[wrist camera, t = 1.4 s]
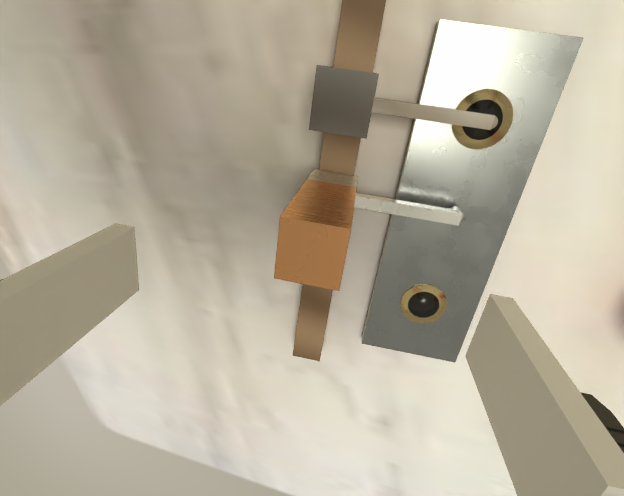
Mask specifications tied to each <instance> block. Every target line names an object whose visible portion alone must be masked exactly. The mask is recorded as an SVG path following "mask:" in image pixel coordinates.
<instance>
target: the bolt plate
mask: <svg viewBox="0 0 624 496" xmlns="http://www.w3.org/2000/svg"><path fill="white" fill-rule="evenodd" d="M582 40H583V38H582V37H575V36H567V35H559V34H551V33H543V32H536V31H528V30H520V29H512V28H504V27H496V26H489V25H481V24H473V23H465V22H457V21H450V20H442V19H440V20H439V21H438V22H437V26H436V30H435V34H434V38H433V42H432V47H431V51H430V55H429V59H428V63H427V67H426V71H425V76H424V80H423V84H422V88H421V92H420V96H419V101H418V104H422V105H429V106H435V107H442V108H449V109H456V110H462V111H469V112H476V113H483V114H490V115H495V116H496V117H497V119H498V123H497V125H496V127H495V128H493V129H491V130H487V129H480V128H473V127H467V126H460V125H453V124H447V123H440V122H434V121H427V120H420V119H414V121H413V126H412V130H411V134H410V138H409V142H408V146H407V151H406V155H405V159H404V163H403V167H402V171H401V176H400V180H399V184H398V188H397V192H396V196H395V199H396V200H401V201H407V202H413V203H419V204H425V205H431V206H437V207H443V208H449V209H450V208H452V207H454V206H457V207H459V208H460V209H461V210H462V212H463V213H464V214H465V216H466V219H465V221H464V222H463V223H460V224H459V226H458V225H452V224H446V223H440V222H434V221H429V220H423V219H417V218H411V217H406V216H400V215H394V214H391V217H390V221H389V225H388V230H387V234H386V238H385V242H384V246H383V250H382V255H381V259H380V263H379V267H378V271H377V275H376V280H375V284H374V288H373V292H372V296H371V300H370V304H369V309H368V313H367V317H366V321H365V325H364V329H363V334H362V344H367V345H372V346H377V347H382V348H387V349H392V350H397V351H402V352H407V353H412V354H416V355H421V356H426V357H431V358H436V359H441V360H446V361H451V362H456V359H457V356H458V354H459V351H460V349H461V346H462V344H463V341H464V339H465V336H466V334H467V331H468V329H469V326H470V324H471V321H472V319H473V316H474V313H475V311H476V308H477V306H478V303H479V301H480V298H481V296H482V293H483V291H484V288H485V286H486V283H487V281H488V278H489V276H490V273H491V270H492V268H493V265H494V263H495V260H496V258H497V255H498V253H499V250H500V248H501V245H502V243H503V240H504V238H505V235H506V233H507V230H508V228H509V225H510V222H511V220H512V217H513V215H514V212H515V210H516V207H517V205H518V202H519V200H520V197H521V195H522V192H523V190H524V187H525V185H526V182H527V179H528V177H529V174H530V172H531V169H532V167H533V164H534V162H535V159H536V157H537V154H538V152H539V149H540V147H541V144H542V142H543V139H544V136H545V134H546V131H547V129H548V126H549V124H550V121H551V119H552V116H553V114H554V111H555V109H556V106H557V104H558V101H559V99H560V96H561V93H562V91H563V88H564V86H565V83H566V81H567V78H568V76H569V73H570V71H571V68H572V66H573V63H574V61H575V58H576V56H577V53H578V51H579V48H580V45H581V43H582Z"/></svg>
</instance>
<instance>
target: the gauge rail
mask: <svg viewBox="0 0 624 496" xmlns="http://www.w3.org/2000/svg"><path fill="white" fill-rule="evenodd" d="M385 3H386V0H343V2H342V9H341V16H340V23H339V30H338V37H337V45H336V52H335V59H334V66H333V67H327V66H320V65H317V68H316V76H315V85H314V93H313V101H312V109H311V117H310V125H309V130H315V131H321V132H324V137H323V144H322V151H321V158H320V165H319V170H323V171H329V172H335V173H341V174H347V175H353V176H354V171H355V166H356V160H357V155H358V149H359V144H360V139H361V138H367V133H368V128H369V122H370V117H371V112H374V113H381V114H387V115H394V116H400V117H407V118H414V119H420V120H427V121H434V122H440V123H447V124H453V125H460V126H467V127H473V128H480V129H487V130H491V129H493V128H495V127H496V125H497V123H498V119H497V117H496V116H495V115H490V114H483V113H476V112H469V111H462V110H456V109H449V108H442V107H435V106H429V105H422V104H415V103H408V102H401V101H395V100H388V99H381V98H374V96H375V91H376V86H377V80H378V75H379V74H376V73H373V68H374V62H375V57H376V52H377V46H378V41H379V35H380V30H381V24H382V19H383V13H384V8H385ZM332 291H333V290H332V289H327V288H322V287H316V286H311V285H306V284H303V286H302V293H301V300H300V307H299V314H298V321H297V329H296V336H295V343H294V350H293V356H298V357H302V358H307V359H312V360H317V361H320V356H321V351H322V345H323V340H324V334H325V329H326V323H327V318H328V313H329V307H330V302H331V296H332Z"/></svg>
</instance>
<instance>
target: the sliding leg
mask: <svg viewBox="0 0 624 496" xmlns="http://www.w3.org/2000/svg"><path fill="white" fill-rule="evenodd" d="M357 181H358V176H353V175H347V174H341V173H335V172H329V171H323V170H317V169H314V170H313V171H312V173H311V174H310V175H309V177H308V178H307V180H306V181H305V182H304V184H303V185H302V187H301V188H300V189H299V191H298V192H297V194H296V195H295V196H294V198H293V199H292V201H291V202H290V203H289V205H288V206H287V208H286V209H285V210H284V212H283V213H282V215H281V216H280V223H279V233H278V243H277V253H276V263H275V273H274V278H275V279H280V280H285V281H290V282H296V283H301V284H306V285H311V286H316V287H322V288H327V289H332V290H337V291H339V289H340V284H341V279H342V274H343V269H344V263H345V258H346V253H347V248H348V243H349V238H350V232H351V226H352V219H353V211H354V208H359V209H365V210H371V211H377V212H383V213H388V214H394V215H400V216H406V217H411V218H417V219H423V220H429V221H434V222H440V223H446V224H452V225H458V226H459V224H460V223H463V222H464V221H465V219H466V216H465V214H464V213H463V212H462V210H461V209H460V208H459V207H457V206H454V207H452V208H450V209H449V208H443V207H437V206H431V205H425V204H419V203H413V202H407V201H401V200H396V199H390V198H384V197H378V196H372V195H366V194H360V193H356V189H357Z"/></svg>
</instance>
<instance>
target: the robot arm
mask: <svg viewBox="0 0 624 496" xmlns="http://www.w3.org/2000/svg"><path fill="white" fill-rule="evenodd" d="M138 290H139V281H138V268H137V255H136V242H135V229H134V227H131V226H125V225H120V224H113V225H111V226H109V227H107V228H105V229H103V230H101V231H99V232H97V233H95V234H93V235H91V236H89V237H87V238H85V239H83V240H81V241H79V242H77V243H75V244H73V245H71V246H69V247H67V248H65V249H63V250H61V251H59V252H57V253H55V254H53V255H51V256H49V257H47V258H45V259H43V260H41V261H39V262H37V263H35V264H33V265H31V266H29V267H27V268H25V269H23V270H21V271H19V272H17V273H15V274H13V275H11V276H9V277H7V278H5V279H2V280H0V406H1V405H2V404H3V403H4V402H6V401H7V400H8V399H9V398H10V397H12V396H13V395H14V394H15V393H16V392H18V391H19V390H20V389H21V388H22V387H23V386H25V385H26V384H27V383H28V382H30V381H31V380H32V379H33V378H34V377H35V376H37V375H38V374H39V373H40V372H42V371H43V370H44V369H45V368H46V367H48V366H49V365H50V364H51V363H52V362H53V361H55V360H56V359H57V358H58V357H59V356H61V355H62V354H63V353H64V352H65V351H67V350H68V349H69V348H70V347H71V346H73V345H74V344H75V343H76V342H77V341H79V340H80V339H81V338H82V337H83V336H85V335H86V334H87V333H88V332H89V331H91V330H92V329H93V328H94V327H95V326H96V325H98V324H99V323H100V322H101V321H102V320H104V319H105V318H106V317H107V316H108V315H110V314H111V313H112V312H113V311H114V310H116V309H117V308H118V307H119V306H120V305H122V304H123V303H124V302H125V301H126V300H128V299H129V298H130V297H131V296H132V295H134V294H135V293H136V292H137V291H138ZM466 359H467V361H468V364H469V367H470V370H471V372H472V375H473V378H474V380H475V383H476V386H477V388H478V391H479V394H480V396H481V399H482V402H483V404H484V407H485V410H486V412H487V415H488V418H489V421H490V423H491V426H492V429H493V431H494V434H495V437H496V439H497V442H498V445H499V447H500V450H501V453H502V455H503V458H504V461H505V463H506V466H507V469H508V471H509V474H510V477H511V480H512V482H513V485H514V488H515V490H516V493H517V496H624V428H623V426H622V425H621V424H620V423H619V421H618V420H617V419H616V417H615V416H614V415H613V413H612V412H611V411H610V410H608V409H607V408H606V407H605V406H604V405H603V404H601V403H600V402H599V401H598V400H597V399H596V398H594V397H593V396H592V395H590V394H585V393H581V392H580V391H579V390H578V389H577V387H576V386H575V384H574V383H573V382H572V380H571V379H570V377H569V376H568V375H567V373H566V372H565V370H564V369H563V368H562V366H561V365H560V363H559V362H558V361H557V359H556V358H555V356H554V355H553V354H552V352H551V351H550V349H549V348H548V347H547V345H546V344H545V342H544V341H543V340H542V338H541V337H540V336H539V334H538V333H537V331H536V330H535V329H534V327H533V326H532V324H531V323H530V322H529V320H528V319H527V317H526V316H525V315H524V313H523V312H522V310H521V309H520V308H519V306H518V305H517V303H516V302H515V301H514V299H513V298H509V297H503V296H498V295H493V294H490V296H489V298H488V301H487V303H486V306H485V308H484V311H483V313H482V316H481V318H480V321H479V323H478V326H477V328H476V331H475V333H474V336H473V338H472V341H471V343H470V346H469V348H468V351H467V353H466Z"/></svg>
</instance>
